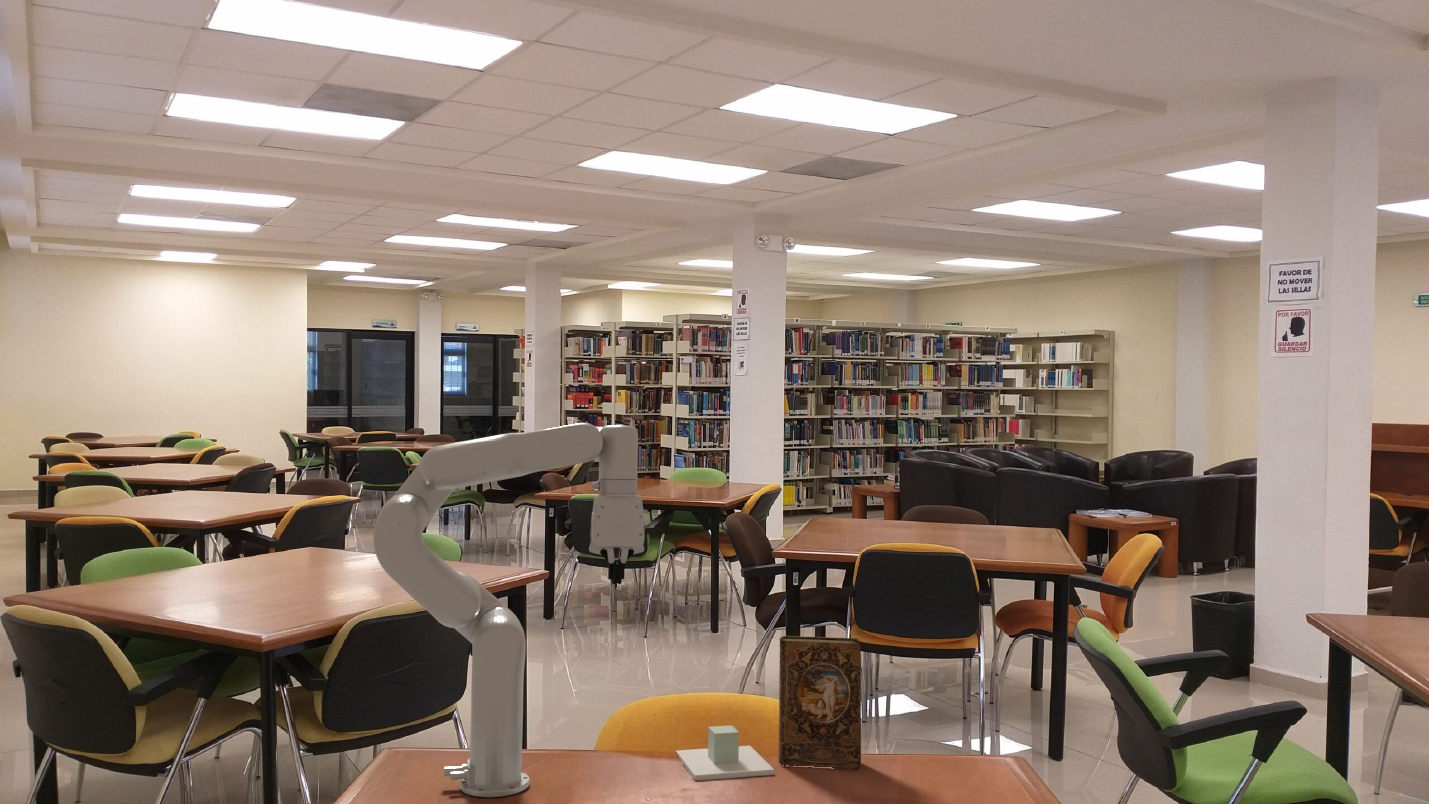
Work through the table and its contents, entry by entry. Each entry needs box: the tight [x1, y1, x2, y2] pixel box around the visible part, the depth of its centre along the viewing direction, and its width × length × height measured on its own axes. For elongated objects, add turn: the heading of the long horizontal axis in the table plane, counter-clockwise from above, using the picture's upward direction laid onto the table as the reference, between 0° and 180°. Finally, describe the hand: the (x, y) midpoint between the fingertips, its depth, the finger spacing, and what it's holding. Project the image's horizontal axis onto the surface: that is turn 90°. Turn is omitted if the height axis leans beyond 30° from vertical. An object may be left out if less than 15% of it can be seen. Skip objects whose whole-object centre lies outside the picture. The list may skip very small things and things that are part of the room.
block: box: [707, 725, 740, 764], centre depth 195 cm, size 5×5×6 cm
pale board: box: [675, 745, 775, 781], centre depth 195 cm, size 16×16×1 cm
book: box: [778, 635, 862, 771], centre depth 196 cm, size 16×6×25 cm, turn 84°
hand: (616, 583), depth 188 cm, fingers closed
